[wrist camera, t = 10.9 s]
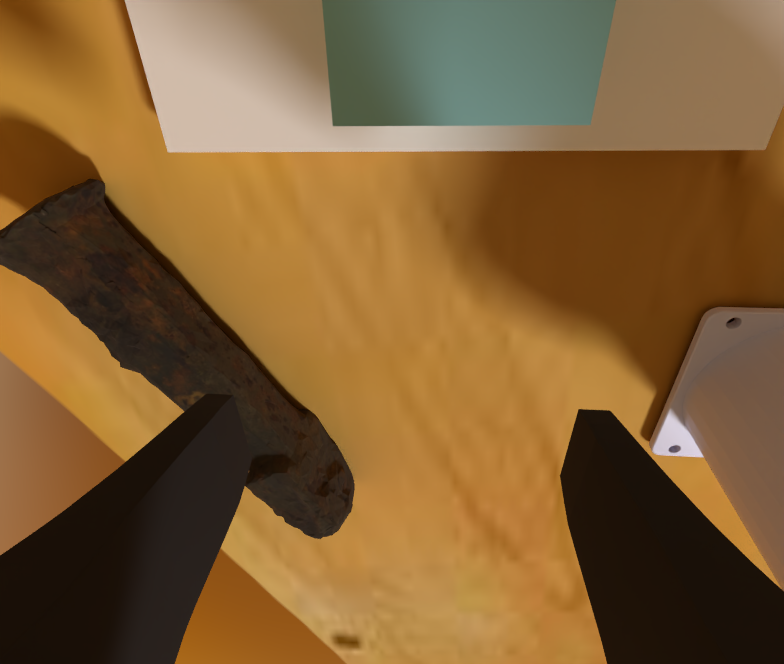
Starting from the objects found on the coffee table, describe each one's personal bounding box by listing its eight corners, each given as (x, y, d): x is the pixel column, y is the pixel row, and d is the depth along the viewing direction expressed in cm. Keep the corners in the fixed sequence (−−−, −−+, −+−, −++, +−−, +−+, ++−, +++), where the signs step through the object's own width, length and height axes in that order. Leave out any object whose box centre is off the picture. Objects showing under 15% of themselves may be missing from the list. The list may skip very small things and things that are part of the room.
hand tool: (41, 212, 18) (-62, 265, 15) (106, 162, 17) (10, 207, 13) (315, 488, 27) (294, 566, 23) (373, 470, 26) (361, 550, 22)
